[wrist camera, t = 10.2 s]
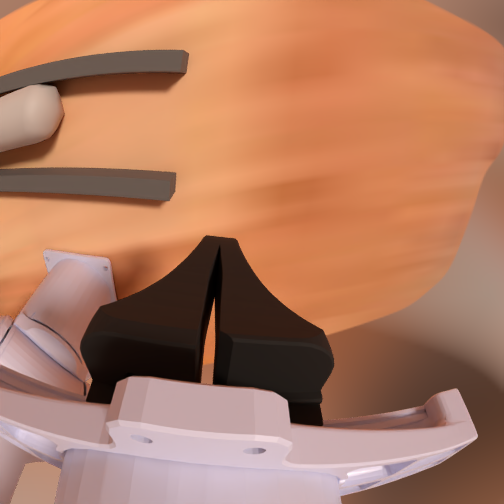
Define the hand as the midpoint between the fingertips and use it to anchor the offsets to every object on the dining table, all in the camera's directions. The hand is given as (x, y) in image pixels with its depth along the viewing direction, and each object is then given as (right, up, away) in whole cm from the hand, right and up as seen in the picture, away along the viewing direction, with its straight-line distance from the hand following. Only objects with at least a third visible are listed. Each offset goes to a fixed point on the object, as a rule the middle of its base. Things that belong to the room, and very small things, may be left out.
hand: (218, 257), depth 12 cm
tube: (-25, +12, +4) cm, 28 cm away
